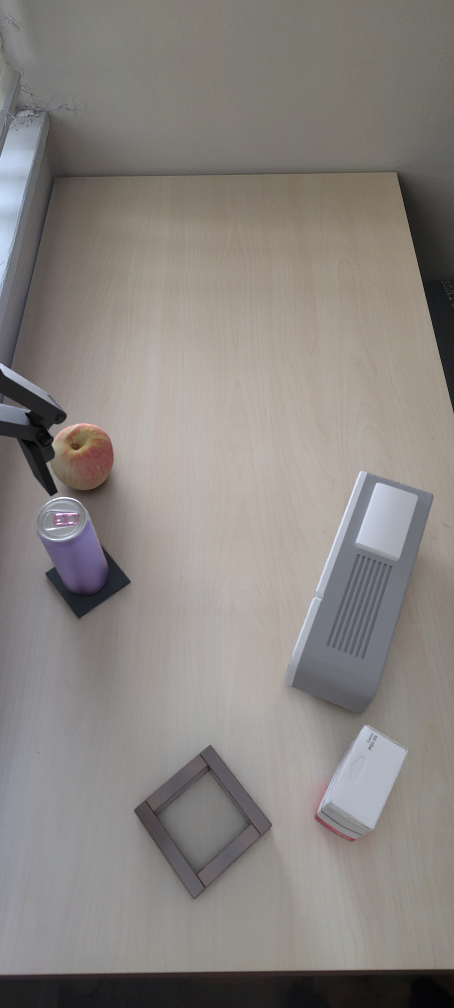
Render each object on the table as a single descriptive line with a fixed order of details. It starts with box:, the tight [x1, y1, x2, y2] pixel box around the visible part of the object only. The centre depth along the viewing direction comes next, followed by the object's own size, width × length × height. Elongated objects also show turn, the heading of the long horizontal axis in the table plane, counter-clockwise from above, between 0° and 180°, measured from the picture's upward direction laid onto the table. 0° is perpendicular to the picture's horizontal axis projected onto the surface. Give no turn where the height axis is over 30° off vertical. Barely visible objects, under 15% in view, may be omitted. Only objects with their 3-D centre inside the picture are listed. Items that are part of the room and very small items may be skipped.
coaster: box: [44, 543, 131, 620], centre depth 83 cm, size 8×8×1 cm
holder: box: [133, 744, 273, 900], centre depth 67 cm, size 10×10×4 cm
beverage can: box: [35, 497, 109, 596], centre depth 77 cm, size 6×6×15 cm
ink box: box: [314, 724, 409, 842], centre depth 65 cm, size 9×5×12 cm, turn 148°
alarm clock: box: [284, 470, 434, 715], centre depth 76 cm, size 27×9×12 cm, turn 157°
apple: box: [49, 422, 115, 491], centre depth 89 cm, size 9×9×8 cm
